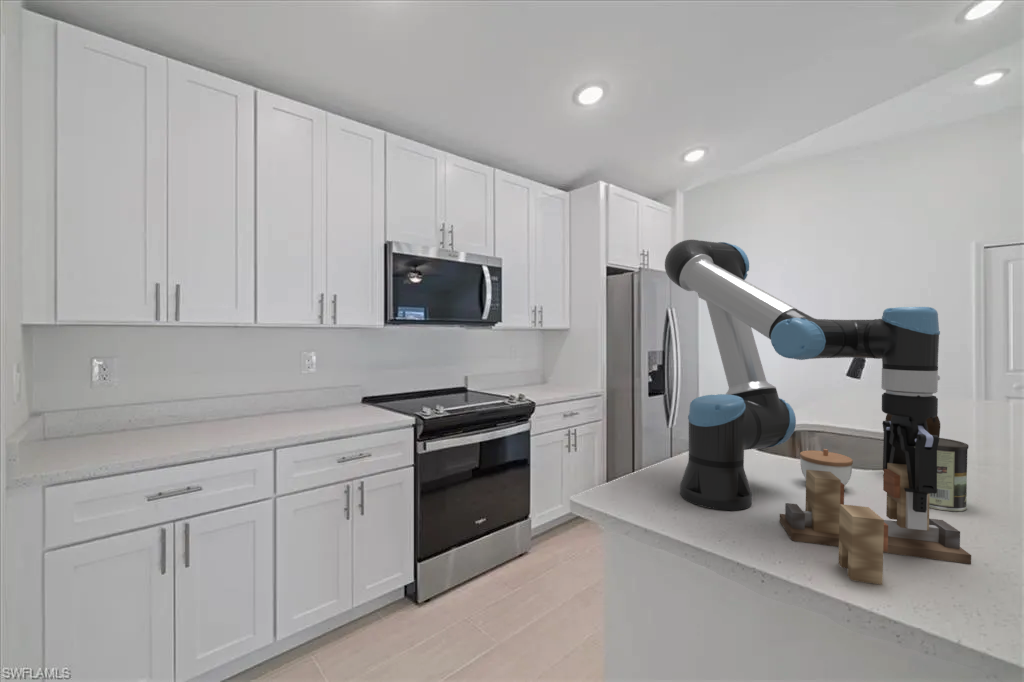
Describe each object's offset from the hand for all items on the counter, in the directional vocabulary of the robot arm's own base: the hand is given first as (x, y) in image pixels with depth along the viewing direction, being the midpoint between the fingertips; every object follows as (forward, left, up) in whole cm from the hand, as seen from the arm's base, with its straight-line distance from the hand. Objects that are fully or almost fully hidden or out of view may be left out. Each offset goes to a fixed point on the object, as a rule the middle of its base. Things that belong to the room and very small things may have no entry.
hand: (907, 521), depth 80 cm
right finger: (0, 0, 0) cm, 0 cm away
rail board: (-6, 0, -4) cm, 8 cm away
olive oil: (+20, +44, -5) cm, 49 cm away
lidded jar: (-3, +31, -5) cm, 32 cm away
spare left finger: (-12, -14, -4) cm, 19 cm away
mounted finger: (-13, 0, -3) cm, 13 cm away
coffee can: (+17, +27, -5) cm, 32 cm away
